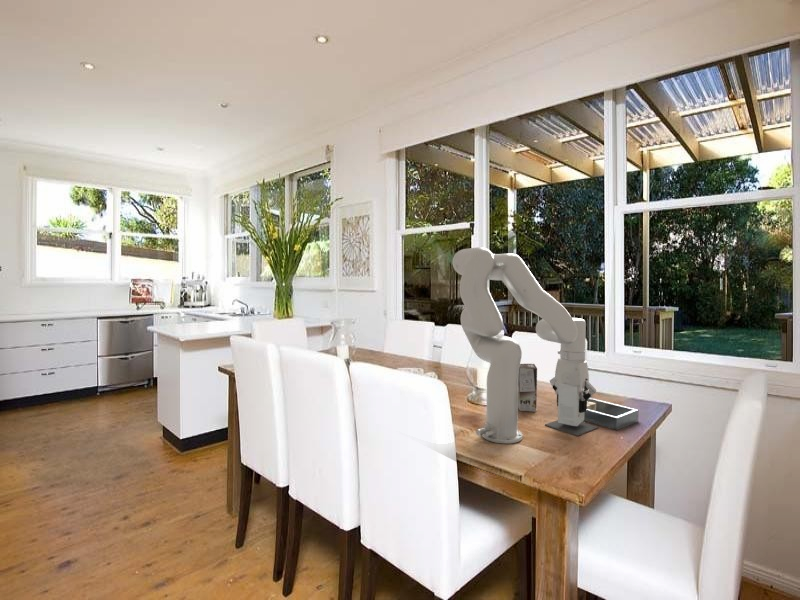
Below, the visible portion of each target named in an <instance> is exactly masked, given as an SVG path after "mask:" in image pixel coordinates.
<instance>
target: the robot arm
mask: <svg viewBox="0 0 800 600" xmlns="http://www.w3.org/2000/svg"><path fill="white" fill-rule="evenodd" d="M452 268H453V269H454V272H456V273H457V274H458V275H461V277H460V282H459V294H460V297H461V301H462V303H463V305H464V308H463V310H462V311H461V314H460V326H461V328H462V330H463V333H464V334H465V336H466V339H467V340H468V342H469V344H470V346H471V348H472V350H473V352H474V353H475V355H476V356H477V358H479V359H481V360H482V361H483V362H486V363H489V365H490V366H489V369H488V371H487V375H486V422H483V423H484V426H483V427H480V428H477V429H476V430H475V434H476V436H478V437H480V436H481V437H482V438H483V439H485V440H486V441H489V442H492V443H496V444H505V445H507V444H516V443H519V442H520V441H522V440H523V437H524V435H523V432H522V431H521V430H519V428H518V427H519V426H518V425H519V424H518V423H519V422H518V421H519V417H518V416H519V415H518V413H519V407H518V374H519V367H520V364H521V362H522V354H523V353H522V347H521V346H520V344H519V343H518V341H516V340H515V338H512V337H509V336H508V335H507V336H506V335H503V334H500V333H502V331H503V329H504V320H503V317H502V315H501V312H500V310H499V309H498V306H497V305H496V302H495V301H494V299H493V297H492V293H491V292H490V288H489V280H490V281H491V280H492V281H502V282H503V284H504V285H505V286H506V288H507V289H508V290H509V292H510V294H511V295H512V296H513V298H514V300H515V301H516V302H517V303H518V305H520V306H521V307H522V308H523V309H525V310H527V311H529V312H531V313H533V314H535V315H537V316H538V317H539V318H541V319H540V320H539V321H538V322H537V323H536V325H535V332H536V334H537V337H539V338H540V339H542V340H544V341H548V342H552V343H557V344H559V345H560V349H558V350H557V354H558V355H559V358H557V363H556V365H555V371H554V377H552V378H551V379H549V383H550V385H551V386H552V389H553V391H554V393H555V394H556V406H557V407H558V384H560V383H564V384H568V385H573V386H577V387H578V393H579V396H580V399H581V400H580V401H579V413H583V412H586V410H587V400H588V399H589V398H592V397H593V395H595V394H596V393H597V389H596V388H595V387H594V386H593V385H592V384H591V383H590V375H589V368H588V367H589V366H588V362H587V361H585V359H586V338H587V337H586V333H587V332H586V331H587V330H586V326H587V323H586V320H585V319H583V318H578V317H572V316H571V314H570V313H569V312H568V310H567V309H566V308H565V306H563V305H562V304H561V303H560V302H559V301H558V300H557V299H555V298H554V297H553V296H552V295H551V294H550V293H548V292H547V291H546V290H544V289H543V288H542V286H541V285H540V284H539V281H538V280H536V278H535V276H534V275H533V273H532V272H531V271H530V269H529V267H528V266H527V265H526V263H525V261H524V260H523V258H521V257H520V256H519V255H518V254H515V253H493V252H492V251H491V250H490V249H489V248H486V247H483V246H482V247H479V246H478V247H471V248H463V249H460V250H458V251H456V252H455V254H454V255H453V258H452Z"/></svg>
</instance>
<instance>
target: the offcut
mask: <svg viewBox="0 0 800 600" xmlns="http://www.w3.org/2000/svg"><path fill="white" fill-rule="evenodd" d="M587 409H589V410H593V411H596V403H593V402H587Z"/></svg>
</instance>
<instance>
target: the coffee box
mask: <svg viewBox="0 0 800 600" xmlns="http://www.w3.org/2000/svg"><path fill="white" fill-rule="evenodd" d="M537 385H538V368H537V366H536V364H535V363H520V367H519V374H518V412H519V411H522V412H535V413H536V412H537V401H538V400H537V396H538V395H537V392H538V391H537V389H538V386H537Z"/></svg>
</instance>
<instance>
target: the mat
mask: <svg viewBox="0 0 800 600" xmlns="http://www.w3.org/2000/svg"><path fill="white" fill-rule="evenodd" d="M544 426H545V427H548V428H551V429H554V430H557V431H559V432H563V433H566V434H569V435H572V436H576V437H579V436H582V435H584V434H587V433H589V432H592V431H594V430H597V429H599V428H600V427H599V426H598V425H597V426H596V425H595V424H589V423H587V422H585V421H583V422H581V423H580V424H579V425H578V426H571V425H567V424H562V423H558V419H557V420H554V421H550V422H548V423H546V424H544Z"/></svg>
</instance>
